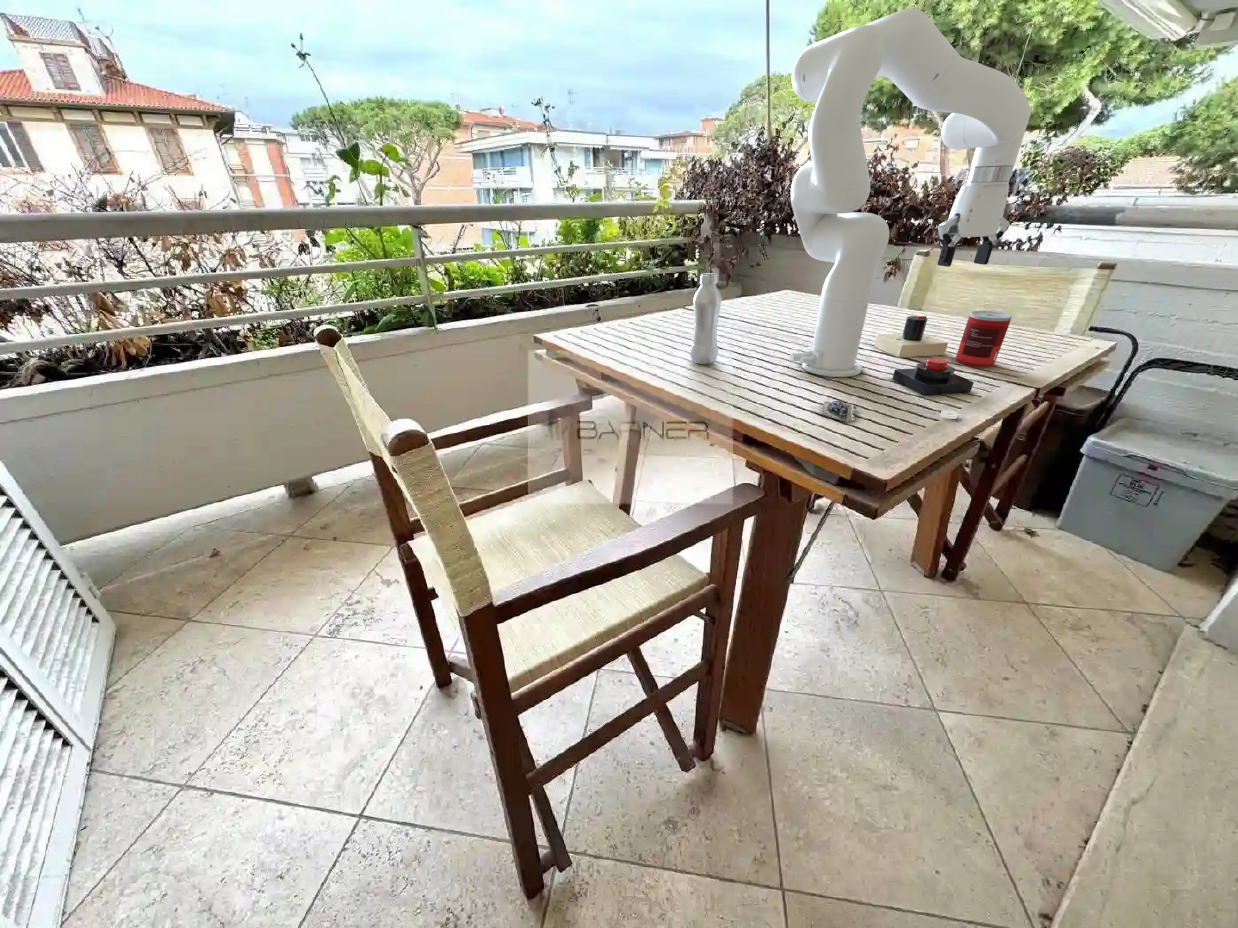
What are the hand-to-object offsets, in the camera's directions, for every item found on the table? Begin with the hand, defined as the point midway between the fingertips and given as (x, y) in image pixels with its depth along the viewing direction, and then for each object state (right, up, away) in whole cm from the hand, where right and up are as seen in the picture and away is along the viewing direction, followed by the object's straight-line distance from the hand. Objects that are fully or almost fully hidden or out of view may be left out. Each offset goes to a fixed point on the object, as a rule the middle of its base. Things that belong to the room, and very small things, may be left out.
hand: (962, 264), depth 110 cm
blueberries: (-38, -36, -21) cm, 56 cm away
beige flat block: (-5, -17, +12) cm, 21 cm away
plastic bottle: (-58, -21, +6) cm, 62 cm away
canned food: (+4, -22, +2) cm, 23 cm away
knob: (-5, -14, +10) cm, 18 cm away
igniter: (-14, -29, -10) cm, 34 cm away
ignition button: (-14, -26, -12) cm, 32 cm away
